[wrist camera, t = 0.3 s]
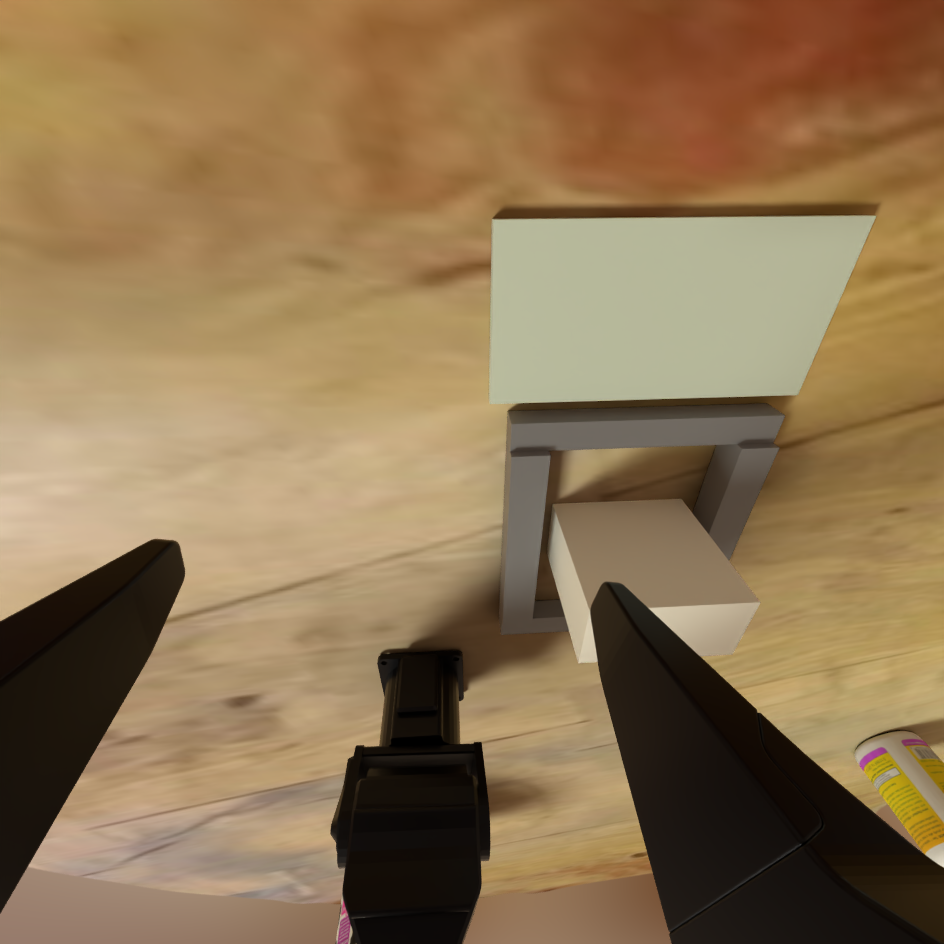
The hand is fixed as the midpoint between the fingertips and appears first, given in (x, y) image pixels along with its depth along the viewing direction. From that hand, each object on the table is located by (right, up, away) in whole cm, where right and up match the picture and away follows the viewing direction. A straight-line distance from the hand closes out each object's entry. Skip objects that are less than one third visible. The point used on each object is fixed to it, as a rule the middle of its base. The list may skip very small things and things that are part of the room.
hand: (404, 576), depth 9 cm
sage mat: (+10, +10, +11) cm, 18 cm away
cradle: (+10, -1, +18) cm, 21 cm away
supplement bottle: (+47, -27, +38) cm, 66 cm away
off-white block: (+10, -1, +18) cm, 21 cm away
